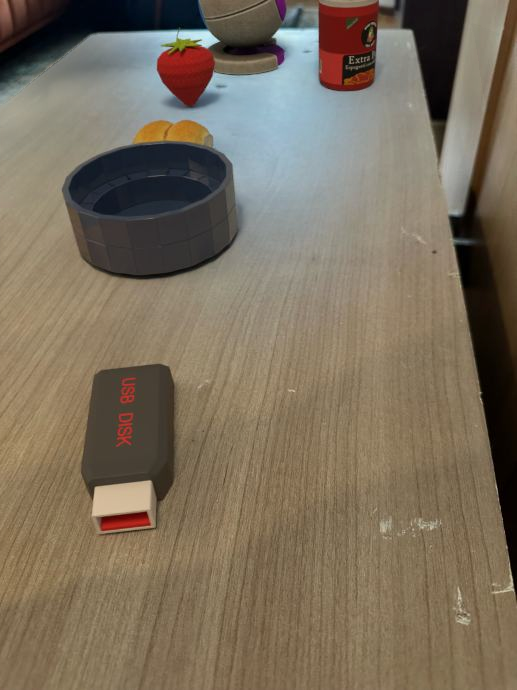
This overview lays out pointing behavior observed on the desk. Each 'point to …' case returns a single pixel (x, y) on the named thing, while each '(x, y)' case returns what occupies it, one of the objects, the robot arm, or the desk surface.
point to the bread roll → (174, 132)
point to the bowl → (152, 206)
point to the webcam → (244, 34)
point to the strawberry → (186, 69)
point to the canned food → (347, 43)
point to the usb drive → (129, 446)
